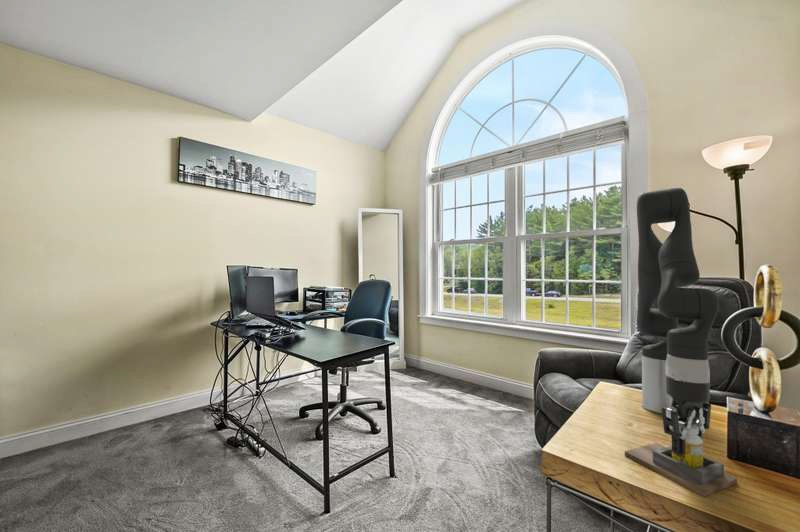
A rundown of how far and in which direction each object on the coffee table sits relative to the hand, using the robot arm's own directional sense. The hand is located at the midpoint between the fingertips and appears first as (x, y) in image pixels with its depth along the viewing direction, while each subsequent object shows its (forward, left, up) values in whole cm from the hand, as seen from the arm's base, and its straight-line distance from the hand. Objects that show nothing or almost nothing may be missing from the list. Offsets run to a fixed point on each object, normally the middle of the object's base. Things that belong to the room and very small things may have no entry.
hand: (687, 450), depth 75 cm
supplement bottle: (0, 0, -4) cm, 4 cm away
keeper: (0, -2, -5) cm, 5 cm away
